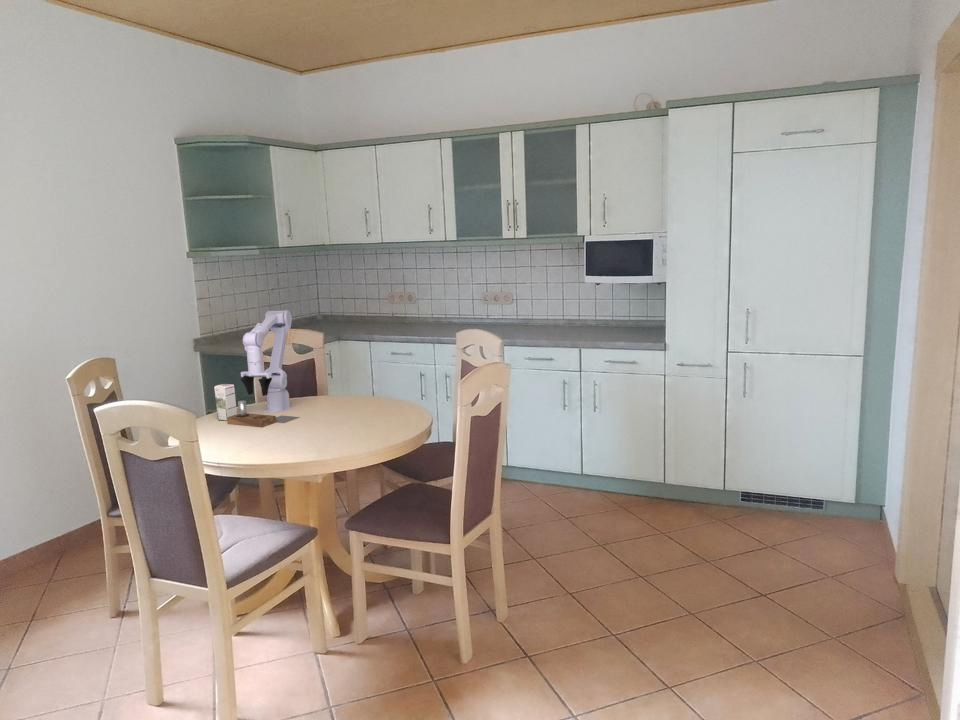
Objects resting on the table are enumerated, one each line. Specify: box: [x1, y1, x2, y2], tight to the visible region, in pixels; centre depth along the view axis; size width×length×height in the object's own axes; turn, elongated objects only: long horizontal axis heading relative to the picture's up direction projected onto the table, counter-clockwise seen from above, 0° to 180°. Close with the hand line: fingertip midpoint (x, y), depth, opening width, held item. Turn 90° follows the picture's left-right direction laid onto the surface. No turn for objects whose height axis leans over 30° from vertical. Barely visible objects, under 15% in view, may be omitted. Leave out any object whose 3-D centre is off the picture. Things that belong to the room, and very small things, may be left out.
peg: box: [237, 399, 248, 418], centre depth 282 cm, size 3×3×9 cm
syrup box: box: [213, 383, 238, 422], centre depth 289 cm, size 6×6×14 cm
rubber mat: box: [275, 415, 301, 424], centre depth 285 cm, size 10×10×1 cm
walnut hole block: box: [226, 412, 277, 429], centre depth 281 cm, size 8×18×3 cm, turn 65°
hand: (257, 394), depth 286 cm, fingers open, 7 cm apart
